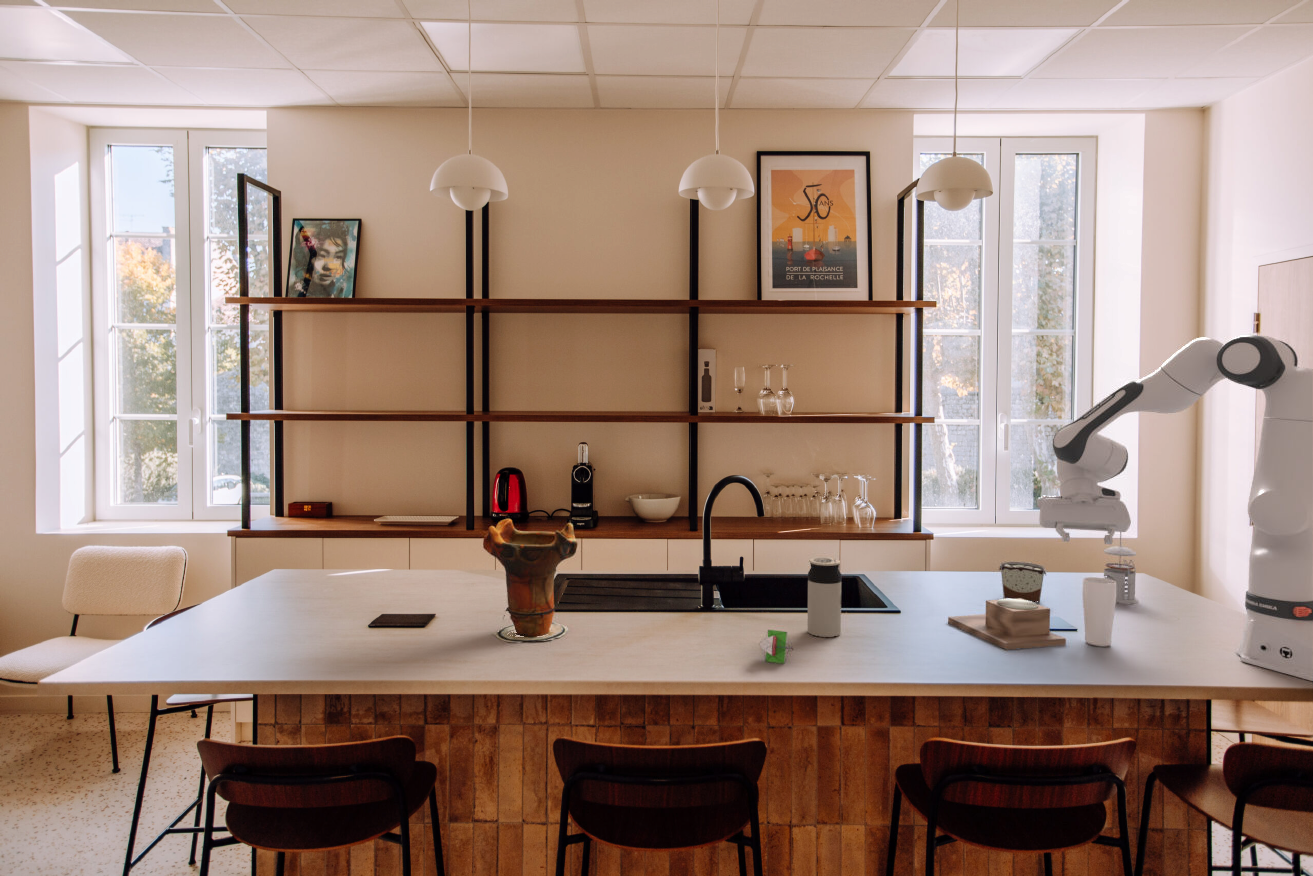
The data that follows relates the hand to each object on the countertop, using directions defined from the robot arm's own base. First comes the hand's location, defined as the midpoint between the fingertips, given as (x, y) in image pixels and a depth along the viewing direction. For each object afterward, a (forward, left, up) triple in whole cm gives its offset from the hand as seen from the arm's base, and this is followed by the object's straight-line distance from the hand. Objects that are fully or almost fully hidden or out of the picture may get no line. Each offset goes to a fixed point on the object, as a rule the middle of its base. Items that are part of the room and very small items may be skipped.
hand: (1087, 541), depth 187 cm
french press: (+21, -32, -22) cm, 44 cm away
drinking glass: (-11, +6, -22) cm, 25 cm away
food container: (+29, -6, -22) cm, 37 cm away
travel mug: (+11, +65, -22) cm, 70 cm away
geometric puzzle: (-5, +84, -22) cm, 87 cm away
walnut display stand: (+1, +22, -22) cm, 31 cm away
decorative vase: (+28, +135, -22) cm, 140 cm away
